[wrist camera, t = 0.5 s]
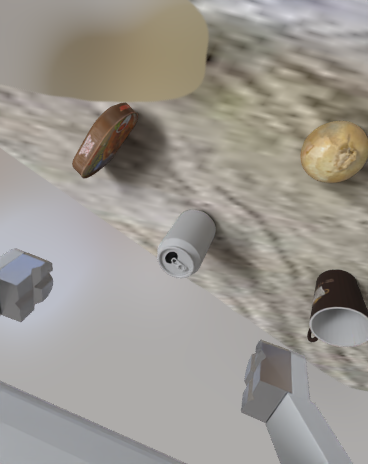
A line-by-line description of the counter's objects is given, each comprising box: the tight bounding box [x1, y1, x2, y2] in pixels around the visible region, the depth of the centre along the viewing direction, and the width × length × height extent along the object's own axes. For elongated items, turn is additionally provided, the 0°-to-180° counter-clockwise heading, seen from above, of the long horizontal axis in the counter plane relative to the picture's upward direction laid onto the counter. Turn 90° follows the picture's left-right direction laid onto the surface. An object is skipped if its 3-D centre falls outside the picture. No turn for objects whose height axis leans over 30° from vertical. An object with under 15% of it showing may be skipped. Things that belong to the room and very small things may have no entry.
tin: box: [72, 103, 138, 178], centre depth 48 cm, size 15×3×8 cm, turn 139°
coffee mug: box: [307, 270, 368, 347], centre depth 50 cm, size 12×9×10 cm
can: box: [157, 210, 216, 278], centre depth 51 cm, size 8×8×12 cm
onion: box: [301, 121, 368, 183], centre depth 38 cm, size 8×8×7 cm
